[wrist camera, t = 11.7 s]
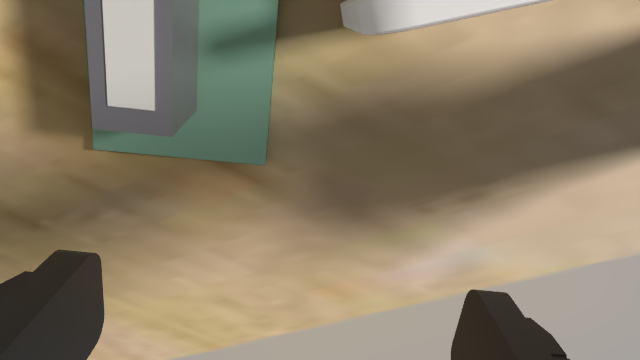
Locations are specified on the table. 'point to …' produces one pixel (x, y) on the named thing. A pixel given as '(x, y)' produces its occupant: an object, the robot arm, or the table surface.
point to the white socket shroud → (416, 13)
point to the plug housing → (142, 64)
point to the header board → (220, 89)
